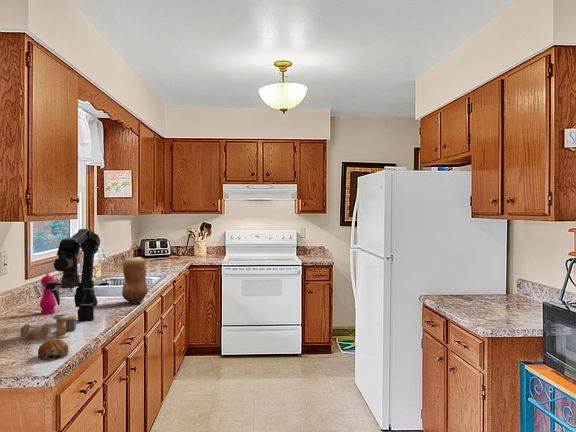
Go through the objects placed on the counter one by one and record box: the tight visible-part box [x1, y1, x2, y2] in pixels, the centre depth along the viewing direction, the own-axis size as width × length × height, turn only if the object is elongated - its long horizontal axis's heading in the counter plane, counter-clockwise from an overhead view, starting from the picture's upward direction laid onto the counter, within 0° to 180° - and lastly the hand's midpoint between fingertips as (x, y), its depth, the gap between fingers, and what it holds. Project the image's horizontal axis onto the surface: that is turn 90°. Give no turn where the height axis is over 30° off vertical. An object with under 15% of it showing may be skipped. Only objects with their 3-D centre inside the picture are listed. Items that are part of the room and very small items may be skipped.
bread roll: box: [37, 338, 69, 361], centre depth 181 cm, size 10×10×8 cm
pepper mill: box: [39, 272, 57, 316], centre depth 251 cm, size 7×7×20 cm
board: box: [20, 322, 52, 341], centre depth 209 cm, size 9×11×4 cm
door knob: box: [52, 313, 70, 339], centre depth 207 cm, size 6×6×8 cm
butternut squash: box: [121, 256, 149, 304], centre depth 277 cm, size 14×13×25 cm
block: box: [66, 314, 77, 332], centre depth 219 cm, size 4×4×6 cm
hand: (70, 305), depth 219 cm, fingers open, 9 cm apart
